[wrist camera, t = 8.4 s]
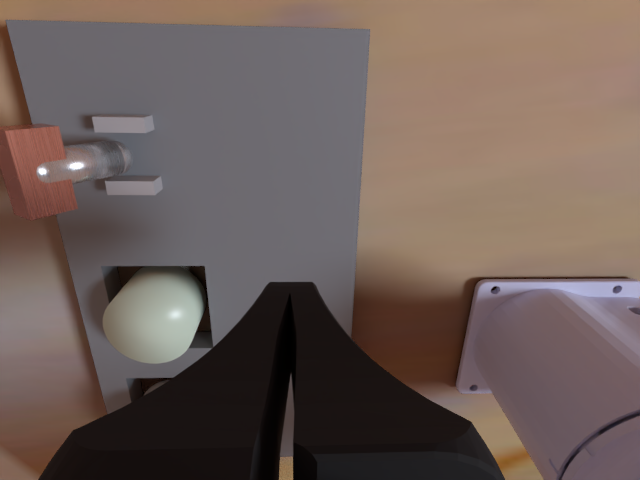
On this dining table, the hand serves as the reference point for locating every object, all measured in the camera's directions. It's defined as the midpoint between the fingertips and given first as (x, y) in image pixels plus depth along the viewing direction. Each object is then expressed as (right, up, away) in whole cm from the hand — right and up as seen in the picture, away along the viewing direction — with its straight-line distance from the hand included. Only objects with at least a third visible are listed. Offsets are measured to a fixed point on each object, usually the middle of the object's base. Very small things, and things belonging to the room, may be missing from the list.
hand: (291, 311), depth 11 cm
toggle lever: (-7, +6, +5) cm, 11 cm away
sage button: (-7, -1, +10) cm, 12 cm away
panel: (-4, 0, +10) cm, 11 cm away
